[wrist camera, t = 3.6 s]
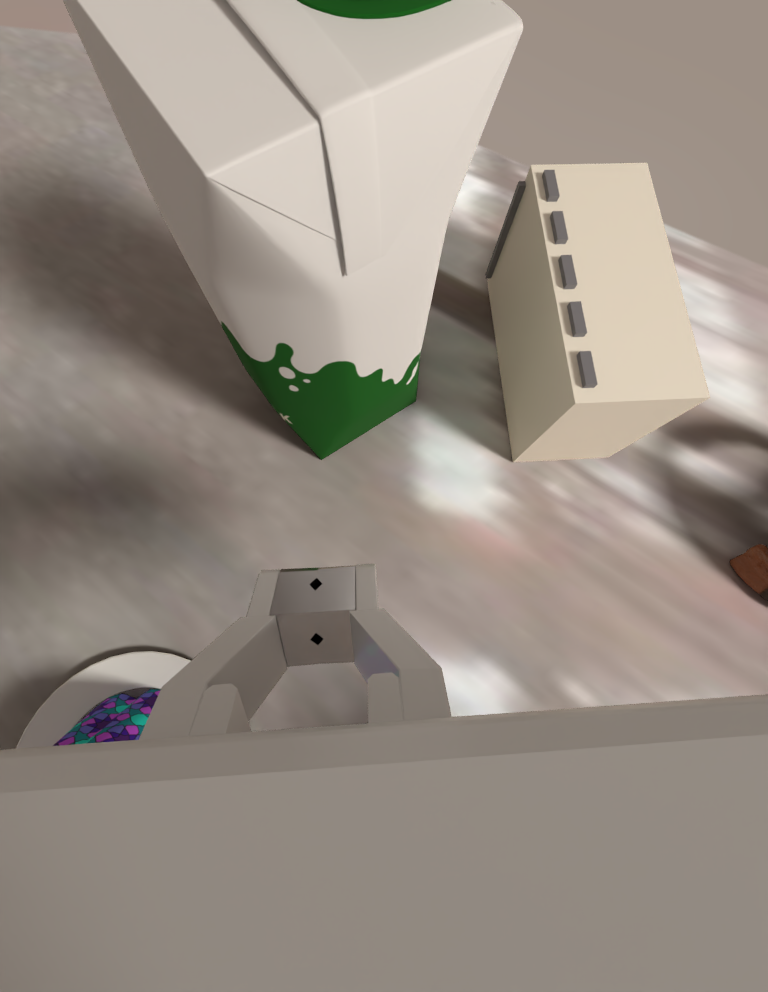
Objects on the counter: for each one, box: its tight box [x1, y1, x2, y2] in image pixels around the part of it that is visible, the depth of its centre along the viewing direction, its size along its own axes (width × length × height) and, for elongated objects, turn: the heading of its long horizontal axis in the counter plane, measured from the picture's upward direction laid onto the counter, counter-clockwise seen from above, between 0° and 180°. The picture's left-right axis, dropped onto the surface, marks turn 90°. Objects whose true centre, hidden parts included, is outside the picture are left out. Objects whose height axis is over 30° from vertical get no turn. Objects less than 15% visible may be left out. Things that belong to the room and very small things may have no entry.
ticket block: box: [485, 163, 710, 462], centre depth 23 cm, size 6×13×8 cm, turn 3°
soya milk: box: [63, 0, 523, 460], centre depth 17 cm, size 9×9×20 cm
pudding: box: [16, 651, 191, 749], centre depth 19 cm, size 12×12×5 cm
